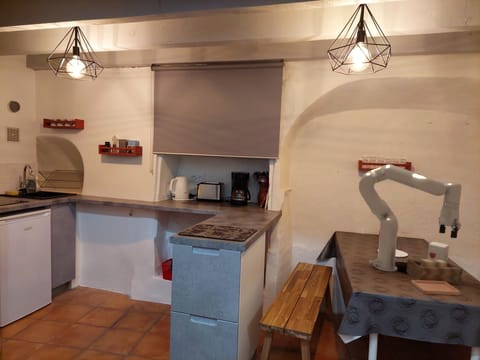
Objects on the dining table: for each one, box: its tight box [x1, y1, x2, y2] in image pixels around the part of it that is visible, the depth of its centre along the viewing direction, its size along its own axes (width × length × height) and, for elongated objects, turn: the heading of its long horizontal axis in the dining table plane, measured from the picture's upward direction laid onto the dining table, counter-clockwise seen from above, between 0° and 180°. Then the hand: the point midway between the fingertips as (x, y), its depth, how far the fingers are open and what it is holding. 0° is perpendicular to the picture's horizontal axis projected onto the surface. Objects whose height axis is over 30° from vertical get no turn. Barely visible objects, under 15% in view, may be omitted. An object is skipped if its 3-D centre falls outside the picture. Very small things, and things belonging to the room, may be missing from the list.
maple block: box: [420, 258, 447, 267], centre depth 180 cm, size 12×4×6 cm, turn 89°
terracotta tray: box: [410, 279, 462, 296], centre depth 166 cm, size 18×13×2 cm
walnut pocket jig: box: [406, 258, 464, 285], centre depth 180 cm, size 22×14×8 cm, turn 89°
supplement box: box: [427, 241, 450, 261], centre depth 197 cm, size 9×9×15 cm
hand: (447, 235), depth 179 cm, fingers open, 9 cm apart
